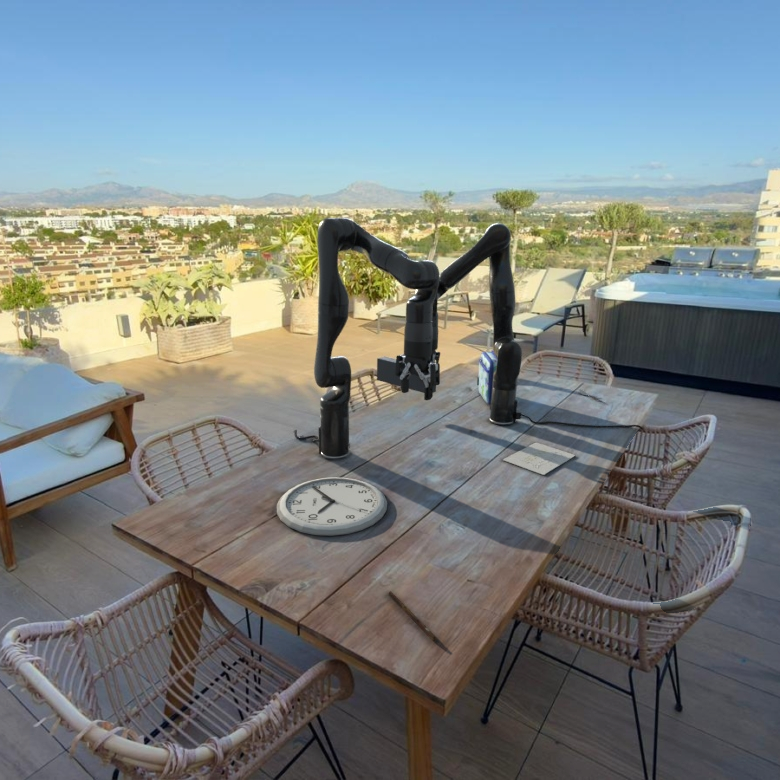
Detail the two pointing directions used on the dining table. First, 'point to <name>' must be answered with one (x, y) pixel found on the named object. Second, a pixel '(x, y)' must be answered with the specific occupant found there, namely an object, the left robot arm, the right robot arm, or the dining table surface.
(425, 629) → the dark brown stick
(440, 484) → the dining table surface
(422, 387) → the bar
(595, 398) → the fork
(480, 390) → the lunch box
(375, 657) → the dining table surface
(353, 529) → the wall clock
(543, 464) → the invitation card
